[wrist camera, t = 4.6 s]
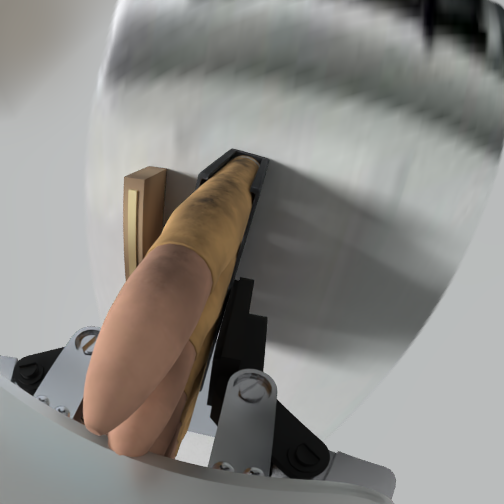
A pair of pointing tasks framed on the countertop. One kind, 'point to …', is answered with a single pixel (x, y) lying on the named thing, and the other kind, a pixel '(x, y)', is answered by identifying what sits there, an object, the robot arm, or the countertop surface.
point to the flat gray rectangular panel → (203, 410)
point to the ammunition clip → (172, 315)
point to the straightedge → (142, 213)
